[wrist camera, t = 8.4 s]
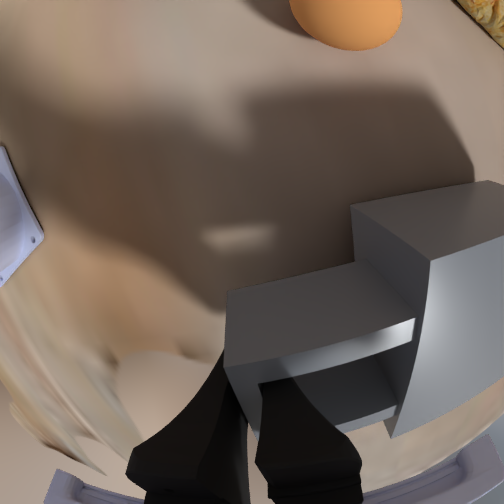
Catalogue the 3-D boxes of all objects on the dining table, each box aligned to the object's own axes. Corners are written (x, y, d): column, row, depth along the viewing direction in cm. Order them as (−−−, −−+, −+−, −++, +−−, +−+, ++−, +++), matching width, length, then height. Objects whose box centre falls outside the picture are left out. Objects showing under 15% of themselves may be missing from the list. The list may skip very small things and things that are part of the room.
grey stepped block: (262, 384, 16) (271, 470, 10) (216, 233, 12) (199, 317, 7) (471, 315, 16) (518, 364, 10) (487, 180, 12) (564, 209, 6)
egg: (315, 74, 11) (344, 42, 7) (266, 1, 10) (269, -52, 5) (393, 50, 10) (443, 23, 6) (345, -19, 9) (374, -64, 4)
